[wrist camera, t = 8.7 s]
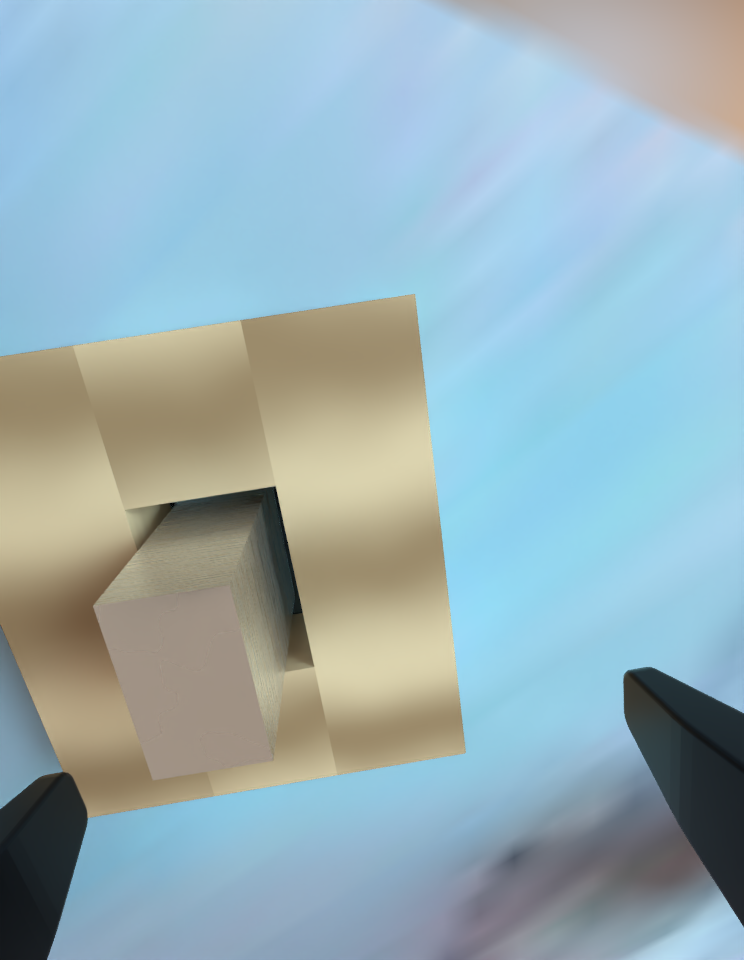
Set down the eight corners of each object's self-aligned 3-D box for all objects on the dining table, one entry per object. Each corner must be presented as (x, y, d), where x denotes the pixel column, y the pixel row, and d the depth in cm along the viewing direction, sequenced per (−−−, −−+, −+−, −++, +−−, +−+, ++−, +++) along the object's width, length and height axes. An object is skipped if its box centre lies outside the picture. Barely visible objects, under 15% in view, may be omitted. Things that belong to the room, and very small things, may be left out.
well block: (446, 687, 22) (465, 753, 19) (120, 742, 22) (83, 818, 19) (399, 297, 17) (414, 293, 14) (-22, 361, 17) (-108, 372, 14)
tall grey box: (295, 596, 21) (273, 760, 13) (219, 607, 21) (152, 780, 13) (270, 476, 19) (229, 585, 11) (188, 488, 19) (93, 605, 11)
